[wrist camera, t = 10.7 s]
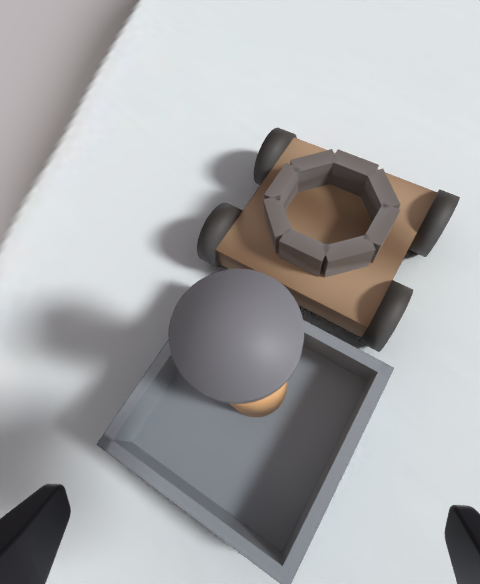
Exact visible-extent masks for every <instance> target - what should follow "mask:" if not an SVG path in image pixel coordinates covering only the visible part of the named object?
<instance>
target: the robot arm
mask: <svg viewBox="0 0 480 584" xmlns="http://www.w3.org/2000/svg"><path fill="white" fill-rule="evenodd" d="M70 512H71V510H70V504H69V501H68V498H67V494H66V491H65V488H64V486H63V485H61V484H46V485H44V486H42V487H41V488H40V489H38V490H37V491H36V492H34V493H33V494H32V495H31V496H29V497H28V498H27V499H25V500H24V501H23V502H22V503H20V504H19V505H18V506H16V507H15V508H14V509H12V510H11V511H10V512H9V513H7V514H6V515H5V516H3V517H2V518H1V519H0V584H45V583H46V581H47V578H48V575H49V573H50V570H51V567H52V564H53V562H54V559H55V556H56V554H57V551H58V548H59V545H60V543H61V540H62V537H63V534H64V532H65V529H66V526H67V524H68V521H69V518H70ZM445 540H446V545H447V548H448V552H449V555H450V559H451V563H452V566H453V570H454V574H455V577H456V581H457V584H480V514H479V513H478V512H477V511H476V510H475V509H474V508H472V507H470V506H464V505H452V506H451V507H450V509H449V513H448V518H447V522H446V527H445Z"/></svg>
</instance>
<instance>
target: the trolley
mask: <svg viewBox="0 0 480 584" xmlns="http://www.w3.org/2000/svg"><path fill="white" fill-rule="evenodd" d="M378 166H379V165H378V164H375V163H372V162H370V161H367V160H364V159H362V158H359V157H357V156H354V155H351V154H349V153H346V152H343V151H341V150H337V152H336V153H334V152H333V150H332V149H331V150H325V149H323V148H320V147H318V146H315V145H312V144H310V143H307V142H305V141H302V140H299V139H297V137H296V135H295V134H293V133H290V132H288V131H285V130H283V129H280V128H275V129H273V130H272V131H271V132H270V133H269V134H268V135H267V137H266V138H265V140H264V142H263V144H262V146H261V148H260V150H259V153H258V156H257V159H256V162H255V167H254V180H255V182H256V183H257V184H259V185H260V187H259V188H258V190H257V191H256V192H255V194H254V195H253V197H252V198H251V200H250V201H249V202H248V204H247V205H246V207H245V208H244V210H243V211H242V210H240V209H238V208H236V207H234V206H232V205H230V204H227V203H223V204H220V205H219V206H217V207H216V208H215V209H214V210H213V211H212V213H211V214H210V215H209V217H208V218H207V220H206V221H205V223H204V225H203V228H202V230H201V232H200V235H199V239H198V244H197V253H198V256H199V257H200V258H201V259H203V260H205V261H206V262H208V263H210V264H212V265H214V266H216V267H221V266H224V267H226V268H228V269H249V270H255V271H258V272H262V273H264V274H266V275H269V276H271V277H272V278H274V279H276V280H277V281H278V282H280V283H281V284H282V285H284V286H285V287H286V288H287V289H288V290H289V292H290V293H291V294H292V296H293V297H294V299H295V300H296V302H297V304H298V305H299V306H301V307H303V308H305V309H307V310H309V311H311V312H313V313H315V314H317V315H318V316H320V317H322V318H324V319H326V320H328V321H330V322H332V323H334V324H336V325H338V326H340V327H342V328H343V329H345V330H347V331H349V332H351V333H353V334H355V335H357V336H359V337H361V338H360V340H359V342H361V343H363V344H365V345H367V346H369V347H371V348H372V349H374V350H376V351H378V352H380V351H381V350H382V348H383V347H384V346H385V344H386V343H387V341H388V340H389V338H390V336H391V335H392V333H393V331H394V330H395V328H396V326H397V324H398V323H399V321H400V319H401V317H402V315H403V313H404V311H405V309H406V307H407V305H408V303H409V301H410V298H411V296H412V293H413V289H410V288H408V287H406V286H404V285H402V284H400V283H398V282H395V281H393V278H394V276H395V274H396V272H397V270H398V268H399V266H400V264H401V262H402V261H403V259H404V257H405V255H406V253H407V251H408V250H410V251H413V252H415V253H417V254H419V255H422V256H424V257H426V256H427V255H428V254H429V252H430V251H431V250H432V248H433V247H434V245H435V243H436V242H437V240H438V239H439V237H440V235H441V234H442V232H443V230H444V228H445V227H446V225H447V223H448V221H449V220H450V218H451V216H452V214H453V212H454V210H455V208H456V206H457V204H458V201H459V198H460V197H458V196H455V195H453V194H450V193H448V192H445V191H442V190H439V191H438V192H435V191H432V190H429V189H427V188H424V187H422V186H419V185H416V184H414V183H411V182H409V181H406V180H403V179H401V178H398V177H396V176H393V175H390V174H388V173H385V172H384V170H383V169H380V170H377V169H378Z"/></svg>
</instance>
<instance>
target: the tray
mask: <svg viewBox="0 0 480 584" xmlns="http://www.w3.org/2000/svg"><path fill="white" fill-rule="evenodd" d="M303 322H304V341H303V347H302V352H301V356H300V360H299V363H298V365H297V367H296V369H295V371H294V373H293V374H292V376H291V377H290V379H289V380H288V382H287V392H286V396H285V398H284V401H283V402H282V404H281V405H280V407H279V408H278V409H277V410H275V411H274V412H273V413H271V414H269V415H267V416H263V417H249V416H246V415H243V414H242V413H240V412H238V411H237V410H236V409H235V408H234V407H233V406H232V405H231V404H230V403H225V402H220V401H217V400H214V399H212V398H210V397H208V396H206V395H204V394H203V393H201V392H200V391H199V390H197V389H196V388H195V387H193V386H192V385H191V384H190V383H189V382H188V381H187V380H186V379H185V378H184V377H183V376H182V374H181V373H180V372H179V370H178V369H177V367H176V365H175V363H174V361H173V358H172V356H171V352H170V347H169V340H168V341H167V342H166V344H165V345H164V347H163V348H162V350H161V351H160V353H159V354H158V356H157V357H156V359H155V360H154V361H153V363H152V364H151V366H150V367H149V369H148V370H147V372H146V373H145V375H144V376H143V377H142V379H141V380H140V382H139V383H138V385H137V386H136V388H135V389H134V391H133V392H132V394H131V395H130V396H129V398H128V399H127V401H126V402H125V404H124V405H123V407H122V408H121V410H120V411H119V412H118V414H117V415H116V417H115V418H114V420H113V421H112V423H111V424H110V426H109V427H108V429H107V430H106V431H105V433H104V434H103V436H102V437H101V439H100V440H99V442H98V443H97V445H98V446H99V447H101V448H102V449H103V450H105V451H106V452H107V453H109V454H110V455H111V456H113V457H114V458H115V459H117V460H118V461H119V462H120V463H122V464H123V465H124V466H126V467H127V468H128V469H130V470H131V471H132V472H134V473H135V474H136V475H138V476H139V477H140V478H142V479H143V480H144V481H146V482H147V483H148V484H149V485H151V486H152V487H153V488H155V489H156V490H157V491H159V492H160V493H161V494H163V495H164V496H165V497H167V498H168V499H169V500H171V501H172V502H173V503H175V504H176V505H177V506H178V507H180V508H181V509H182V510H184V511H185V512H186V513H188V514H189V515H190V516H192V517H193V518H194V519H196V520H197V521H198V522H200V523H201V524H202V525H204V526H205V527H206V528H208V529H209V530H210V531H211V532H213V533H214V534H215V535H217V536H218V537H219V538H221V539H222V540H223V541H225V542H226V543H227V544H229V545H230V546H231V547H233V548H234V549H235V550H237V551H238V552H239V553H240V554H242V555H243V556H244V557H246V558H247V559H248V560H250V561H251V562H252V563H254V564H255V565H256V566H258V567H259V568H260V569H262V570H263V571H264V572H266V573H267V574H268V575H269V576H271V577H272V578H273V579H275V580H276V581H277V582H279V583H280V584H291V583H292V581H293V578H294V576H295V574H296V572H297V570H298V568H299V566H300V564H301V562H302V560H303V558H304V555H305V553H306V551H307V549H308V547H309V545H310V543H311V541H312V539H313V537H314V535H315V532H316V530H317V528H318V526H319V524H320V522H321V520H322V518H323V516H324V514H325V512H326V509H327V507H328V505H329V503H330V501H331V499H332V497H333V495H334V493H335V491H336V489H337V486H338V484H339V482H340V480H341V478H342V476H343V474H344V472H345V470H346V468H347V466H348V463H349V461H350V459H351V457H352V455H353V453H354V451H355V449H356V447H357V445H358V443H359V440H360V438H361V436H362V434H363V432H364V430H365V428H366V426H367V424H368V422H369V420H370V417H371V415H372V413H373V411H374V409H375V407H376V405H377V403H378V401H379V399H380V397H381V395H382V392H383V390H384V388H385V386H386V384H387V382H388V380H389V378H390V376H391V374H392V372H393V369H394V368H393V367H391V366H390V365H388V364H386V363H384V362H382V361H380V360H378V359H376V358H374V357H373V356H371V355H369V354H367V353H365V352H363V351H361V350H359V349H358V348H356V347H354V346H352V345H350V344H348V343H346V342H344V341H342V340H341V339H339V338H337V337H335V336H333V335H331V334H329V333H327V332H325V331H324V330H322V329H320V328H318V327H316V326H314V325H312V324H310V323H308V322H307V321H305V320H303Z"/></svg>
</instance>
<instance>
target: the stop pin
mask: <svg viewBox="0 0 480 584" xmlns="http://www.w3.org/2000/svg"><path fill="white" fill-rule="evenodd" d="M303 341H304V322H303V318H302V314H301V311H300V308H299V306H298V304H297V302H296V300H295V299H294V297H293V296H292V294H291V293H290V292H289V290H288V289H287V288H286V287H285V286H284V285H282V284H281V283H280V282H278V281H277V280H276V279H274V278H272V277H271V276H269V275H266V274H264V273H262V272H258V271H255V270H249V269H228V270H223V271H219V272H216V273H213V274H211V275H208V276H206V277H204V278H203V279H201V280H199V281H198V282H197V283H195V284H194V285H193V286H192V287H191V288H190V289H189V290H188V291H187V292H186V293H185V294H184V295H183V296H182V298H181V299H180V301H179V302H178V304H177V306H176V308H175V310H174V312H173V314H172V318H171V321H170V326H169V347H170V352H171V356H172V358H173V361H174V363H175V365H176V367H177V369H178V370H179V372H180V373H181V374H182V376H183V377H184V378H185V379H186V380H187V381H188V382H189V383H190V384H191V385H192V386H193V387H195V388H196V389H197V390H199V391H200V392H201V393H203V394H204V395H206V396H208V397H210V398H212V399H214V400H217V401H220V402H225V403H230V404H231V405H232V406H233V407H234V408H235V409H236V410H237V411H238V412H240V413H242V414H243V415H246V416H249V417H263V416H267V415H269V414H271V413H273V412H274V411H275V410H277V409H278V408H279V407H280V405H281V404H282V402H283V401H284V398H285V396H286V392H287V382H288V380H289V379H290V377H291V376H292V374H293V373H294V371H295V369H296V367H297V365H298V363H299V360H300V356H301V352H302V347H303Z"/></svg>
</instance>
